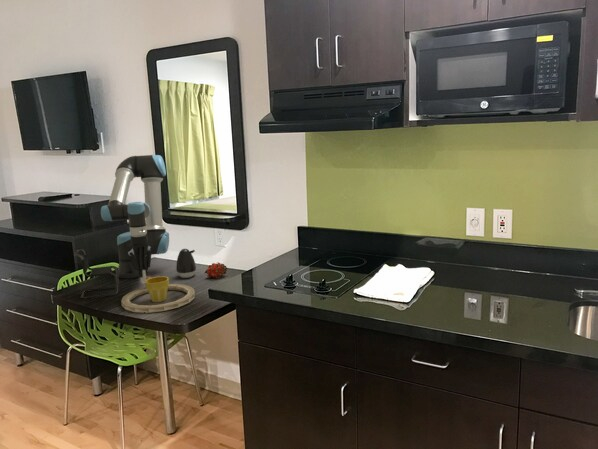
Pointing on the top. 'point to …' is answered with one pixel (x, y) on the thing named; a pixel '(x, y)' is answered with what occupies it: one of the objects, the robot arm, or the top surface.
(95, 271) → the chair
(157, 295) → the plant pot
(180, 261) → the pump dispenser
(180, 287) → the beige segmented ring
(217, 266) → the dragon fruit
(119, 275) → the robot arm
